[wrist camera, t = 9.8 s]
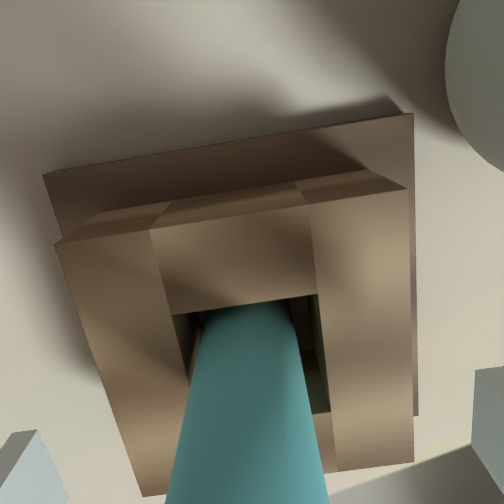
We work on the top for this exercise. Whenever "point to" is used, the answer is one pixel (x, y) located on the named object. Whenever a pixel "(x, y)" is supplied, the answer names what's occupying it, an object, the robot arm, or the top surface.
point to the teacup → (478, 76)
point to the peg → (248, 415)
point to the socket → (252, 278)
